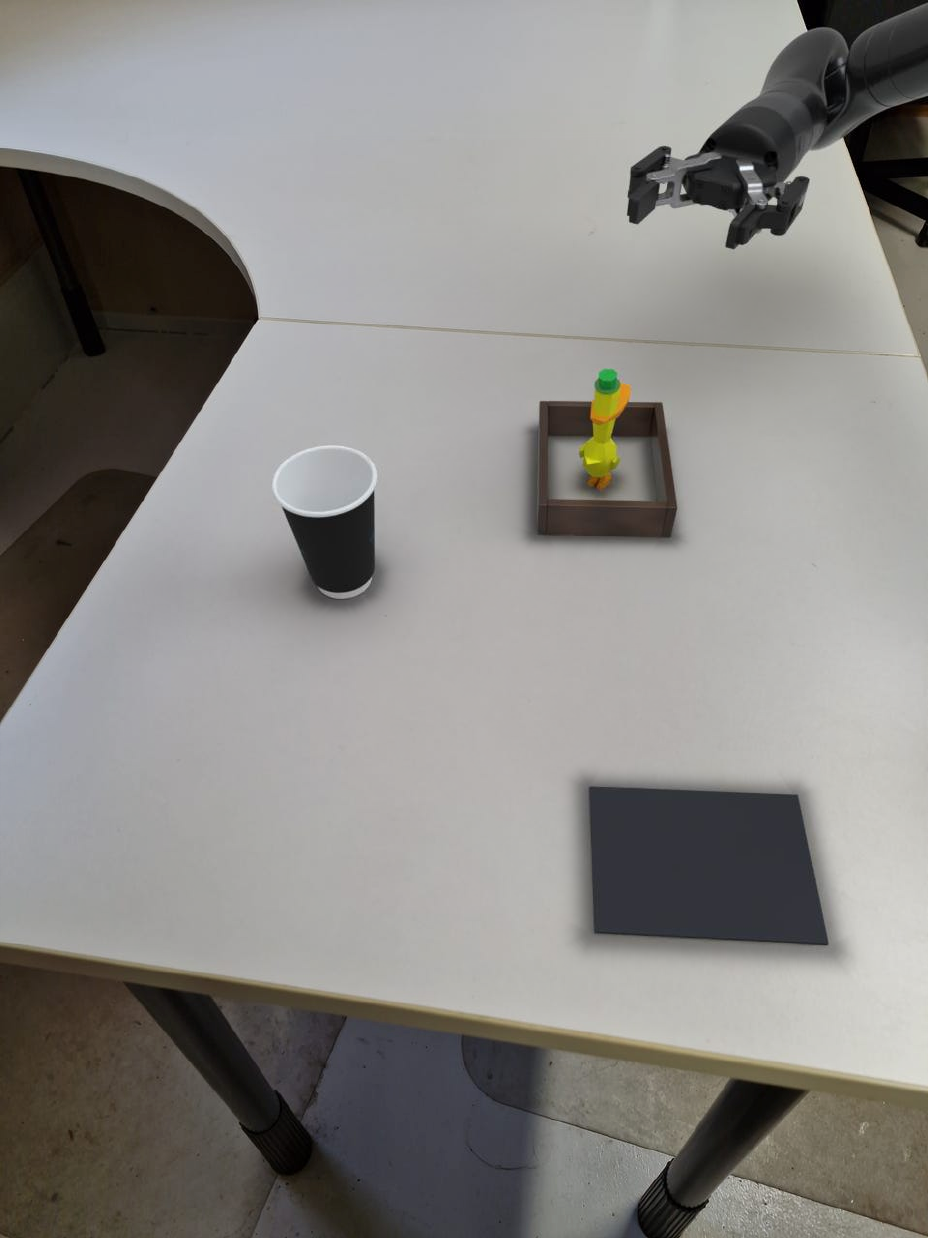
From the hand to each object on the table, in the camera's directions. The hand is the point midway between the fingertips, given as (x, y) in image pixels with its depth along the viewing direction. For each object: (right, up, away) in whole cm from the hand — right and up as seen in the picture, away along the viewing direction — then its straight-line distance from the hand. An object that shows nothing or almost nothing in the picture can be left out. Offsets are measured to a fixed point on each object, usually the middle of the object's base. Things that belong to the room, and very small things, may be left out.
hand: (681, 224), depth 69 cm
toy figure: (-5, -19, +10) cm, 22 cm away
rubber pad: (-2, -48, -14) cm, 50 cm away
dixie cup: (-28, -29, +3) cm, 40 cm away
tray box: (-5, -19, +10) cm, 22 cm away
